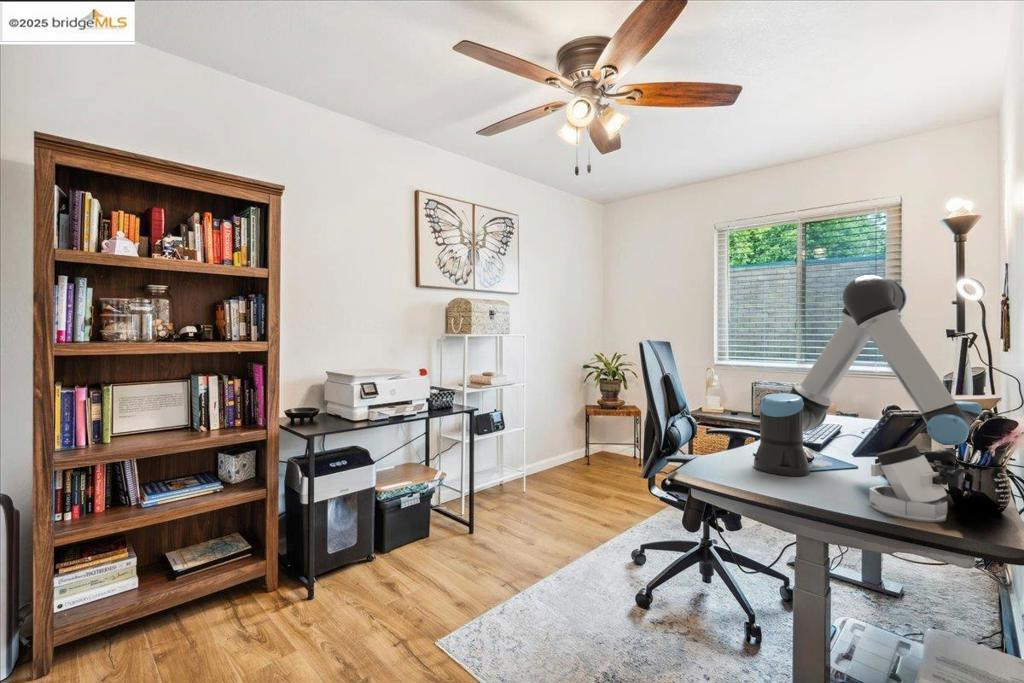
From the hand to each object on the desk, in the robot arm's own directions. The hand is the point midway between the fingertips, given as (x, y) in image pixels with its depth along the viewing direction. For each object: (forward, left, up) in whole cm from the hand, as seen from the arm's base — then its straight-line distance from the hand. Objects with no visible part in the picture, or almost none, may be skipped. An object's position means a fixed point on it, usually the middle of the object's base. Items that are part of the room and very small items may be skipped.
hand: (896, 475), depth 109 cm
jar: (+3, +5, -6) cm, 8 cm away
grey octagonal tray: (0, +4, -9) cm, 10 cm away
